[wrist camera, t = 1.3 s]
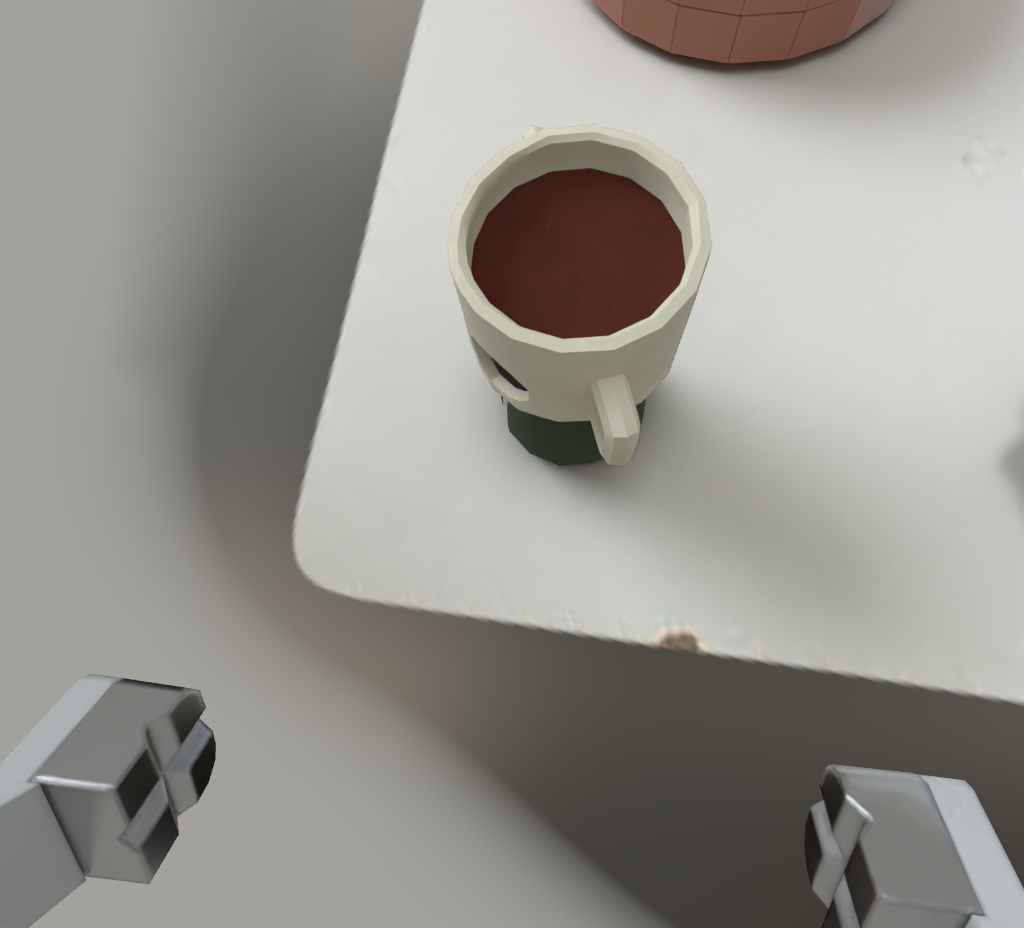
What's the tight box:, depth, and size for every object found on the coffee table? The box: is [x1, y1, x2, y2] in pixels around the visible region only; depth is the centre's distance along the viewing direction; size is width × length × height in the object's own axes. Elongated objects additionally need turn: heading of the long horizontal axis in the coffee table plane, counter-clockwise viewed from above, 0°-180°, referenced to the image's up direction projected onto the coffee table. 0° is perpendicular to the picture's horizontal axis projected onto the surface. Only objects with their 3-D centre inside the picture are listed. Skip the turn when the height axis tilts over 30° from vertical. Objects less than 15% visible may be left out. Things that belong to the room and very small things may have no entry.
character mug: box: [447, 124, 712, 466], centre depth 25 cm, size 11×7×13 cm, turn 14°
